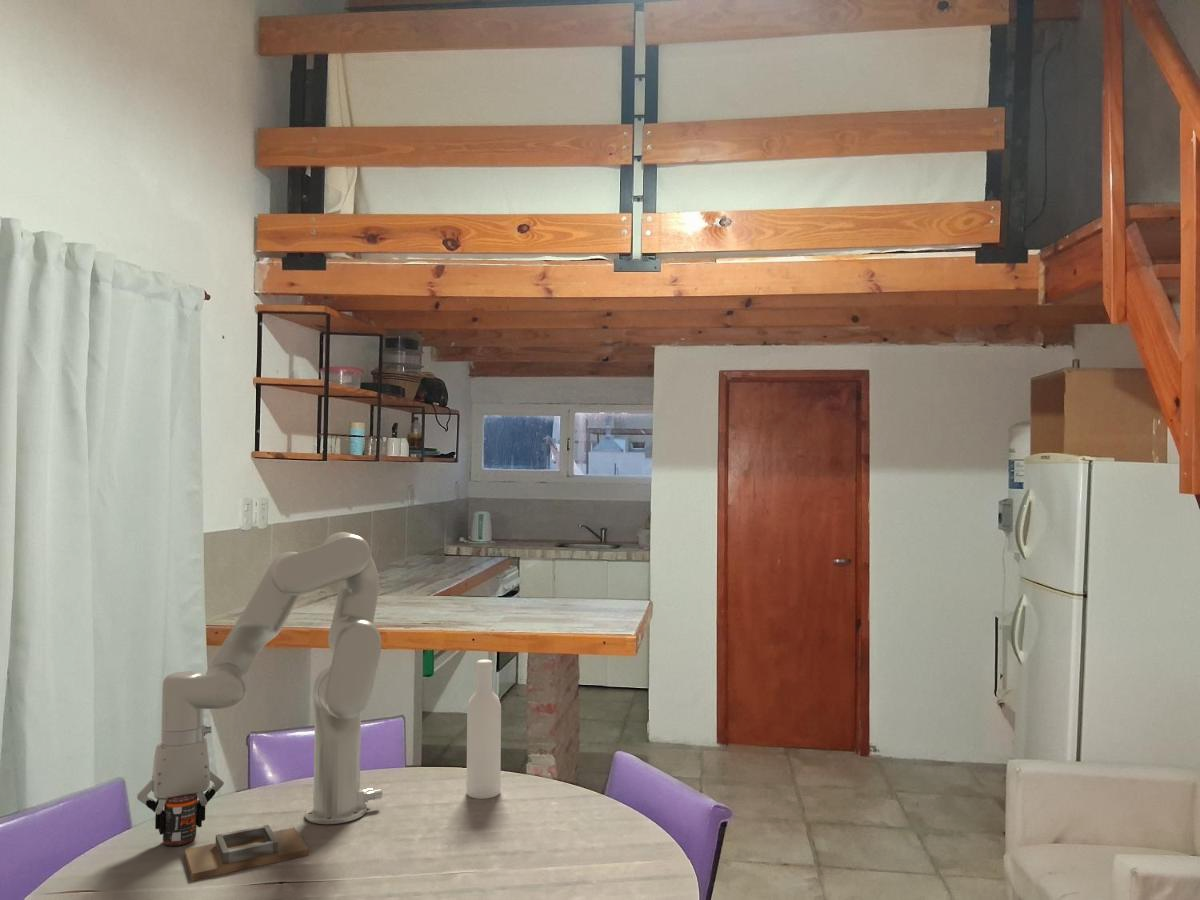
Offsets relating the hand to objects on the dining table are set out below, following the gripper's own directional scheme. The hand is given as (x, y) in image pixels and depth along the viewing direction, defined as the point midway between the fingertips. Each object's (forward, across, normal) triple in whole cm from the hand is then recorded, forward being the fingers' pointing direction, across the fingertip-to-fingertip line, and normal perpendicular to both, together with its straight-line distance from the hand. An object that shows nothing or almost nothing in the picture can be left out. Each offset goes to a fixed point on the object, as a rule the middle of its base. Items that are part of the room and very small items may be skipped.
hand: (180, 827), depth 167 cm
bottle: (+3, -62, +7) cm, 62 cm away
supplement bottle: (+3, 0, 0) cm, 3 cm away
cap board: (+3, -10, +14) cm, 17 cm away
